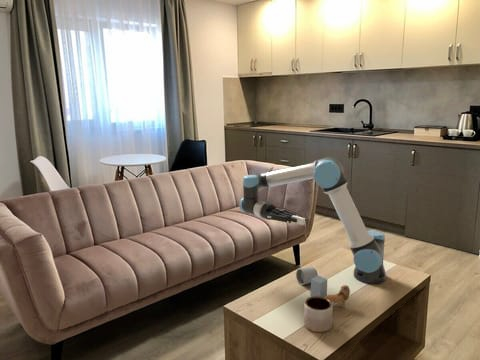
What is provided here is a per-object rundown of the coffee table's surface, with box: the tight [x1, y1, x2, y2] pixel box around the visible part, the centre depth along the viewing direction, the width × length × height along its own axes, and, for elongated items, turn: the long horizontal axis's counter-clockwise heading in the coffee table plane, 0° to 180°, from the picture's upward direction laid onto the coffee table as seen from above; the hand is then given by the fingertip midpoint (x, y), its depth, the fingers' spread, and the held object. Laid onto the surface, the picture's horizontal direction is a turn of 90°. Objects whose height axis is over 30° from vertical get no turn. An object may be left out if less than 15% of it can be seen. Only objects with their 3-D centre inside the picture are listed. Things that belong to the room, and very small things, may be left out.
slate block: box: [310, 275, 328, 298], centre depth 172 cm, size 5×5×10 cm
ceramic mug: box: [295, 266, 319, 286], centre depth 189 cm, size 11×8×8 cm
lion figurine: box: [325, 284, 351, 313], centre depth 165 cm, size 15×5×9 cm, turn 119°
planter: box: [303, 296, 333, 333], centre depth 154 cm, size 11×11×10 cm
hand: (304, 221), depth 172 cm, fingers closed
